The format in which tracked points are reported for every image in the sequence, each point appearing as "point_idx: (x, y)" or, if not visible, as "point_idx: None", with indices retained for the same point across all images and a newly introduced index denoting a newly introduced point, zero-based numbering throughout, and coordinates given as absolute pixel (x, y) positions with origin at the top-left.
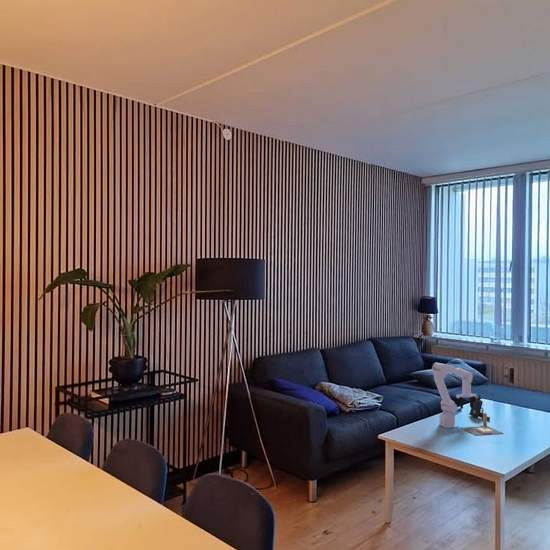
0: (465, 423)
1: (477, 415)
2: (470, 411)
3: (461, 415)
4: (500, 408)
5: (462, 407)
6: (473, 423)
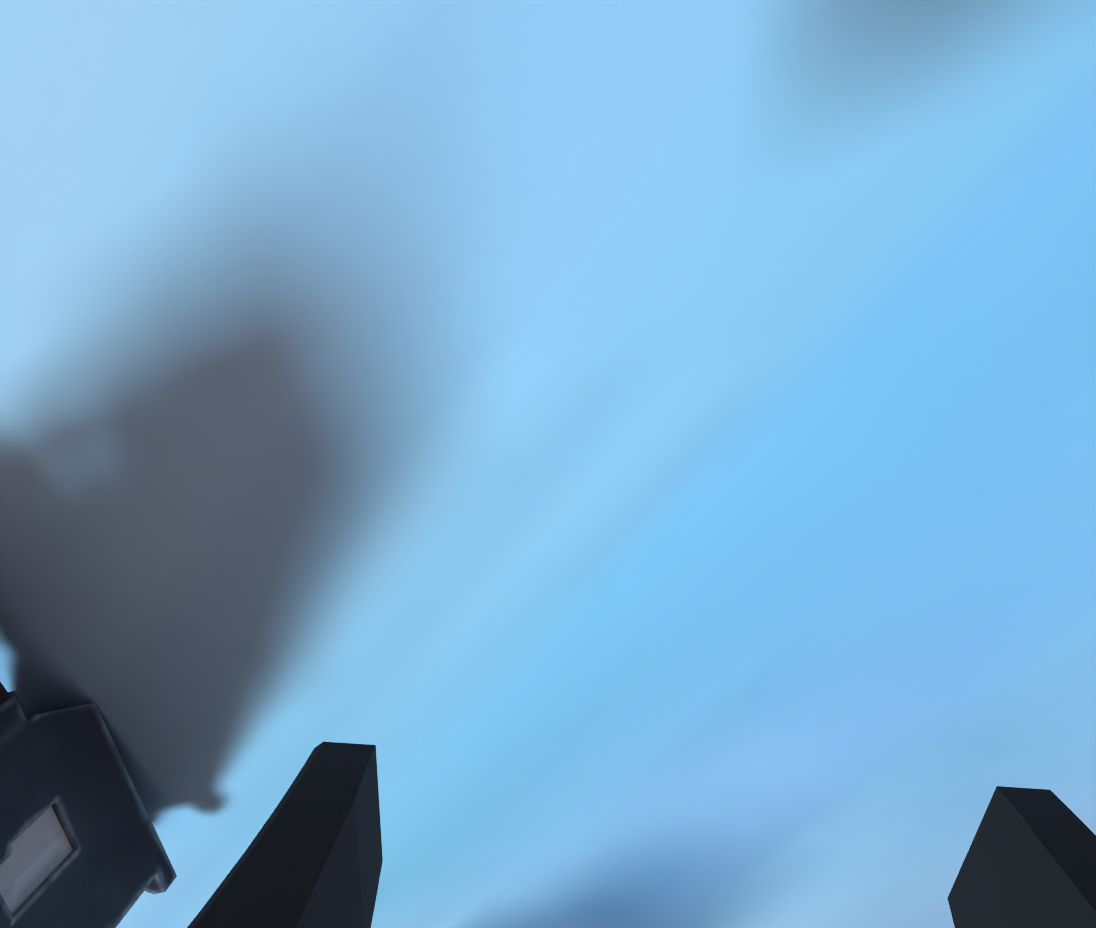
0: (698, 392)
1: (16, 723)
2: (111, 918)
3: None
4: None
5: (1077, 838)
6: (444, 329)
